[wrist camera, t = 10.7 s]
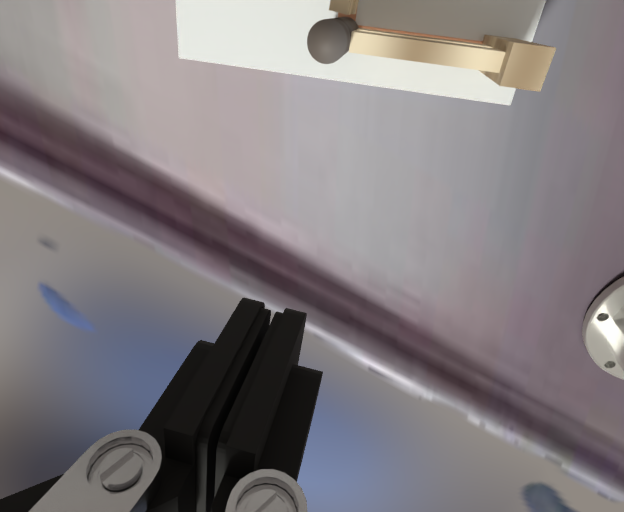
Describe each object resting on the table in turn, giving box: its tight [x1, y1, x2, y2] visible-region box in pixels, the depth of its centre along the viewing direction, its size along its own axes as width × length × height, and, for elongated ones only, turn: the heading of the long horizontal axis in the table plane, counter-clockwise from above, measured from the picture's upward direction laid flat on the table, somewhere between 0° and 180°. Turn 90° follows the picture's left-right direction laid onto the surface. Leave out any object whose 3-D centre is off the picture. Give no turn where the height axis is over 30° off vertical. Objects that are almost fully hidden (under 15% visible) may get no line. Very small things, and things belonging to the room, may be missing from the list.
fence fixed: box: [307, 17, 556, 92], centre depth 24 cm, size 12×2×9 cm, turn 84°
